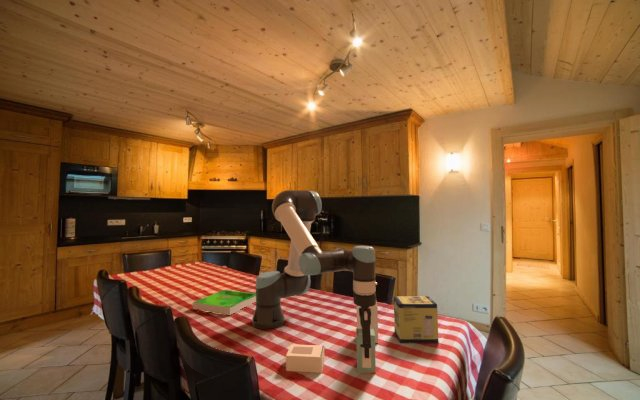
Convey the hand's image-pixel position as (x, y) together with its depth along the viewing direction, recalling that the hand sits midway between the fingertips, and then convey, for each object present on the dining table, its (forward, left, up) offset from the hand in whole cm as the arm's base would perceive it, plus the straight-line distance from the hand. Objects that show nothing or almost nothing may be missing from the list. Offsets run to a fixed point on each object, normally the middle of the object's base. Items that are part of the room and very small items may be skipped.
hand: (365, 356), depth 95 cm
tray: (-76, +57, -5) cm, 95 cm away
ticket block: (-20, 0, -4) cm, 21 cm away
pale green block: (0, 0, -4) cm, 4 cm away
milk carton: (+2, +21, -4) cm, 21 cm away
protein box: (+22, +25, -4) cm, 33 cm away
